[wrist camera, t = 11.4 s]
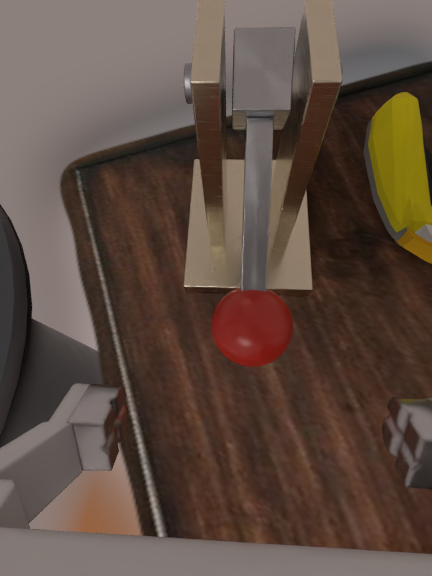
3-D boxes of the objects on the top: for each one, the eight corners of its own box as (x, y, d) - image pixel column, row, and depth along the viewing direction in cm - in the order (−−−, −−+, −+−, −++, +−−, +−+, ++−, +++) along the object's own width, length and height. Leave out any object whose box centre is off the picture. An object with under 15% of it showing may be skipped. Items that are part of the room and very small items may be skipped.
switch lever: (284, 351, 17) (297, 382, 14) (213, 348, 17) (207, 379, 14) (299, 67, 15) (320, 15, 11) (218, 67, 15) (213, 17, 12)
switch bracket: (308, 296, 22) (404, 149, 10) (185, 292, 22) (133, 147, 10) (301, 171, 25) (365, -50, 13) (195, 170, 26) (165, -44, 14)
